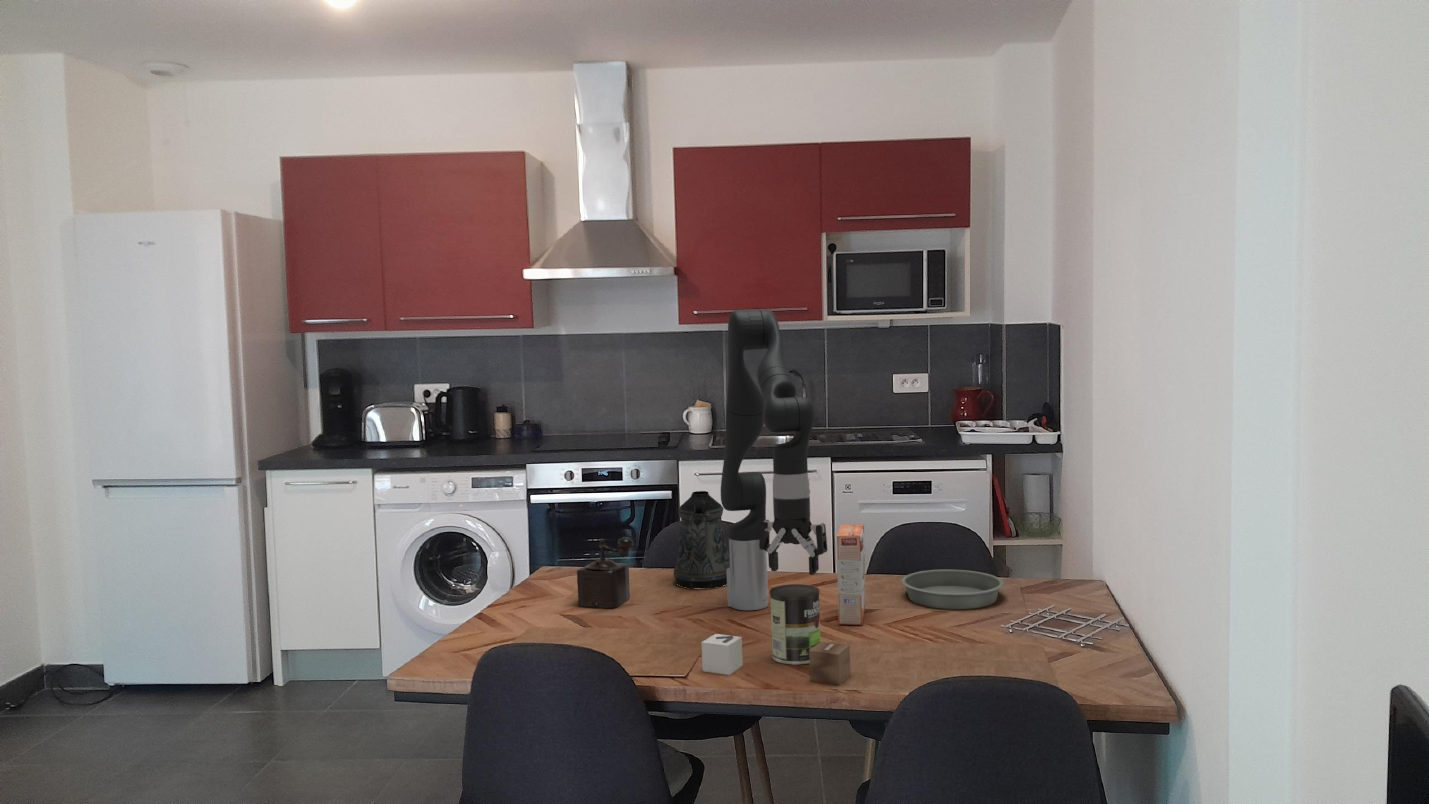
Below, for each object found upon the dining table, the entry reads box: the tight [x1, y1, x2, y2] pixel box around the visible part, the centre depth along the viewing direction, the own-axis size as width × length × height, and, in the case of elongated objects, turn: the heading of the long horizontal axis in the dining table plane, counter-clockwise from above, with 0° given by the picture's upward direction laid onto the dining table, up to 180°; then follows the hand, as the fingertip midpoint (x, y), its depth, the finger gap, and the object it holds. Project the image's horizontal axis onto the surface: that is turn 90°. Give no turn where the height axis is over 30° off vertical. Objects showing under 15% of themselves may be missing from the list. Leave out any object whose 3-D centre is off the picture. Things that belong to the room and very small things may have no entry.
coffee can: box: [768, 583, 821, 666], centre depth 202 cm, size 10×10×14 cm
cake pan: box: [901, 569, 1004, 610], centre depth 243 cm, size 25×25×4 cm
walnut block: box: [809, 641, 851, 685], centre depth 189 cm, size 6×6×6 cm
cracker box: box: [836, 523, 866, 626], centre depth 229 cm, size 14×6×21 cm, turn 168°
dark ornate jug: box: [672, 490, 730, 589], centre depth 265 cm, size 16×19×25 cm
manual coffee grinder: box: [576, 536, 634, 609], centre depth 249 cm, size 16×11×18 cm
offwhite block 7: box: [701, 633, 744, 676], centre depth 197 cm, size 6×6×6 cm
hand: (793, 572), depth 201 cm, fingers open, 8 cm apart
